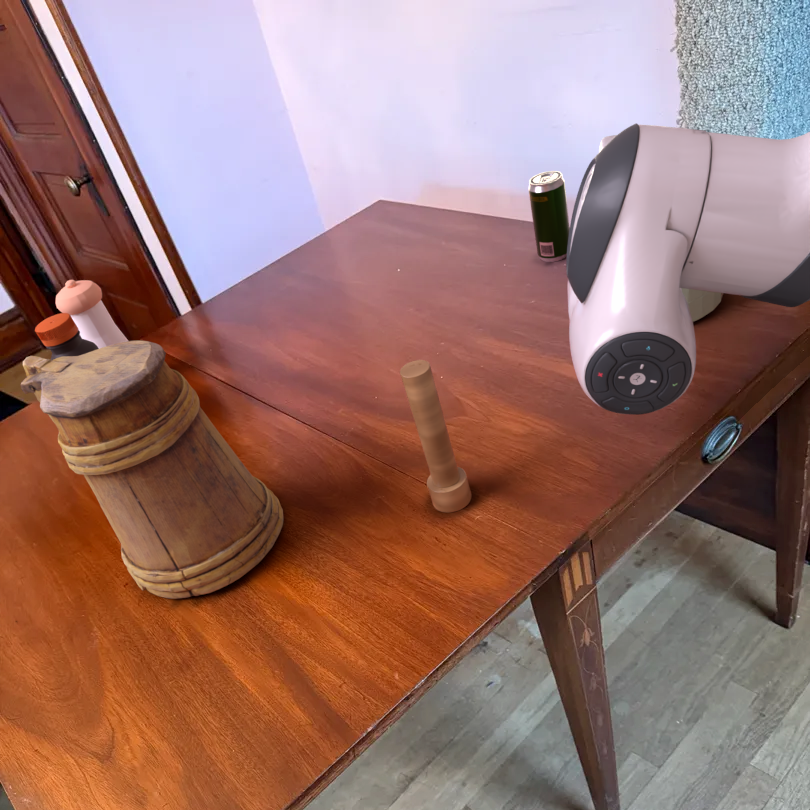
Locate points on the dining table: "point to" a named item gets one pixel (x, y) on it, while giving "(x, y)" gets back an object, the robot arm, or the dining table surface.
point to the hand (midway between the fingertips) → (611, 236)
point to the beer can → (549, 215)
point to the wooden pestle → (435, 439)
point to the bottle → (63, 337)
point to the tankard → (156, 468)
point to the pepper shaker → (89, 312)
